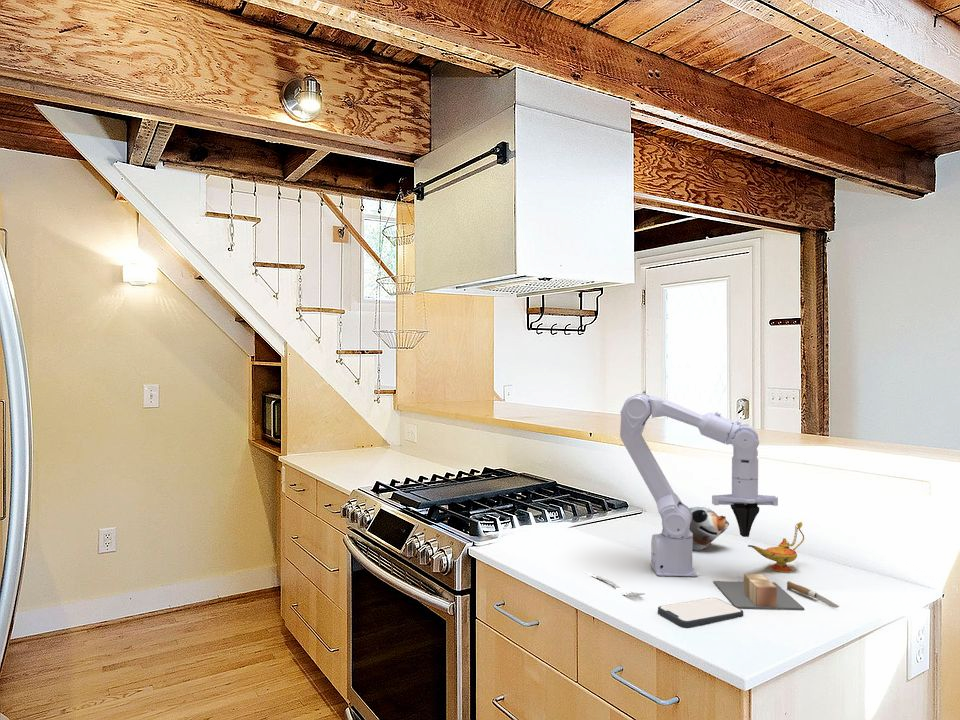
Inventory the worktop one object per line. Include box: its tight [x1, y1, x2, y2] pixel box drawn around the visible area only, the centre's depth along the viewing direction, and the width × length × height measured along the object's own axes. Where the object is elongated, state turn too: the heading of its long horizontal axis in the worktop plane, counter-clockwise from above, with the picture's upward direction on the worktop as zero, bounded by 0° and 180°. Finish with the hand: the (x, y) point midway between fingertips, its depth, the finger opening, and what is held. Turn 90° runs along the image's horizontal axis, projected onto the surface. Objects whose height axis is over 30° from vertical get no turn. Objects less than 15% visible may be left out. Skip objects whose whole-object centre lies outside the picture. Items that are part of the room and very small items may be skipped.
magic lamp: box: [747, 521, 805, 573], centre depth 164 cm, size 7×18×11 cm, turn 112°
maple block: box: [742, 573, 777, 607], centre depth 143 cm, size 4×4×8 cm
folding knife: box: [786, 580, 840, 609], centre depth 145 cm, size 14×2×2 cm, turn 22°
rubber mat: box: [712, 580, 805, 611], centre depth 146 cm, size 14×15×1 cm
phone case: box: [657, 597, 744, 629], centre depth 136 cm, size 9×2×16 cm
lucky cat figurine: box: [688, 506, 730, 552], centre depth 182 cm, size 15×12×14 cm
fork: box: [595, 575, 646, 597], centre depth 154 cm, size 3×24×2 cm, turn 27°
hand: (744, 535), depth 156 cm, fingers closed
